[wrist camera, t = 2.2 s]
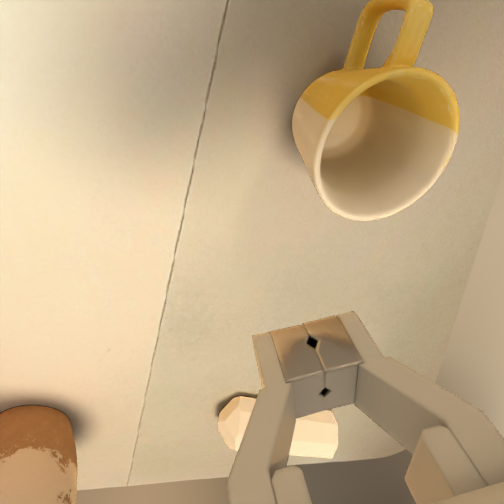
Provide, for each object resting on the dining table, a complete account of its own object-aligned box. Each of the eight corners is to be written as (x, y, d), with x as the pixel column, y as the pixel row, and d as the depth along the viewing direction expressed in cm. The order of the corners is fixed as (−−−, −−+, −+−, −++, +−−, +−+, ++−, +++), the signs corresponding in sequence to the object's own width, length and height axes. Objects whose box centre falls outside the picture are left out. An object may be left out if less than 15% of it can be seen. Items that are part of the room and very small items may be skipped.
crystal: (202, 446, 53) (316, 455, 64) (224, 450, 47) (344, 459, 58) (209, 395, 56) (316, 412, 67) (230, 393, 51) (342, 412, 62)
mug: (348, 180, 35) (404, 234, 26) (258, 154, 31) (290, 206, 23) (425, 32, 28) (533, 41, 20) (321, -23, 24) (400, -41, 16)
